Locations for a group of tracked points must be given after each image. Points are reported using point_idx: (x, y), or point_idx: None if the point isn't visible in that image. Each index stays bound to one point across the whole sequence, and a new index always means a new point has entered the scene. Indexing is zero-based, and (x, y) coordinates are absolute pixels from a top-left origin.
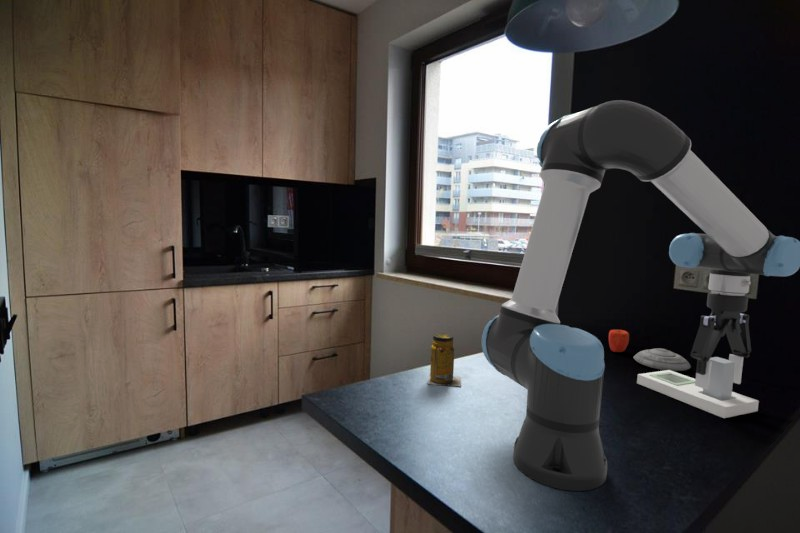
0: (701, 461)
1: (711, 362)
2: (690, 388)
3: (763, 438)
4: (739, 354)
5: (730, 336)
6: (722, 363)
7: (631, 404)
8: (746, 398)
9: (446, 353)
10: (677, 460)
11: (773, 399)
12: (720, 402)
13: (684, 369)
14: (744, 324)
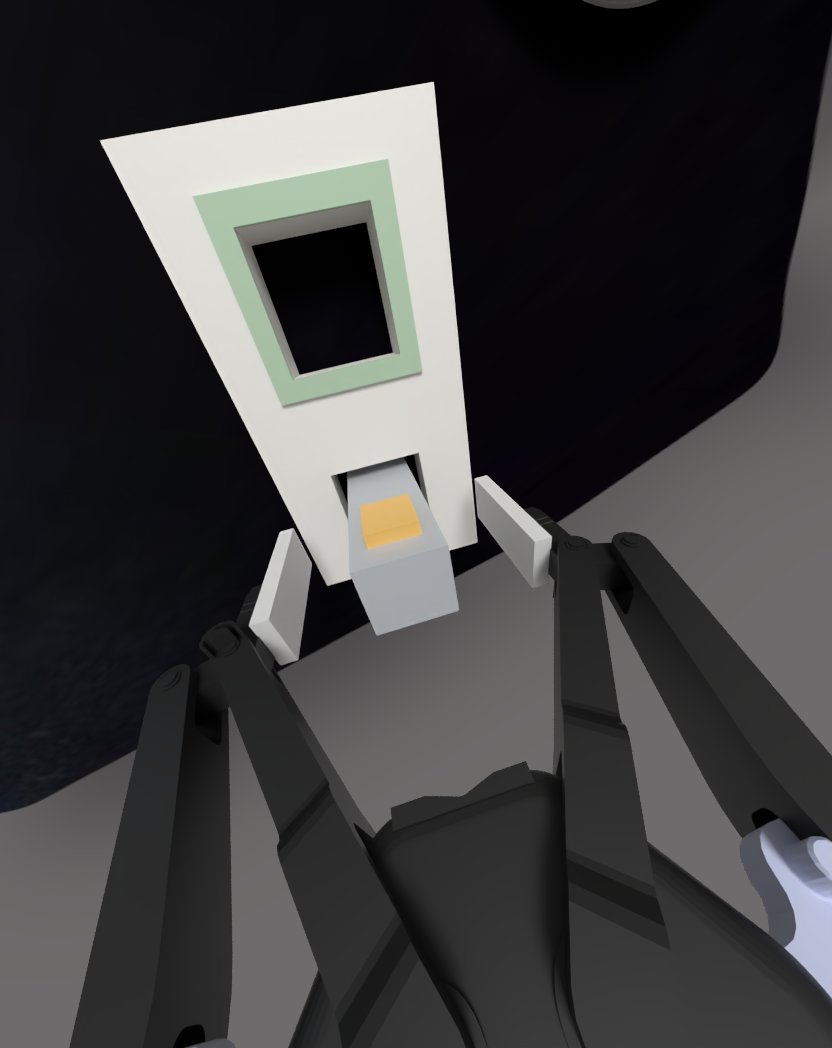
0: (132, 710)
1: (297, 656)
2: (328, 440)
3: (340, 635)
4: (553, 577)
5: (558, 689)
6: (374, 629)
7: (18, 474)
8: (458, 529)
9: None
10: (76, 715)
11: (603, 453)
12: (342, 557)
13: (630, 2)
14: (737, 825)
